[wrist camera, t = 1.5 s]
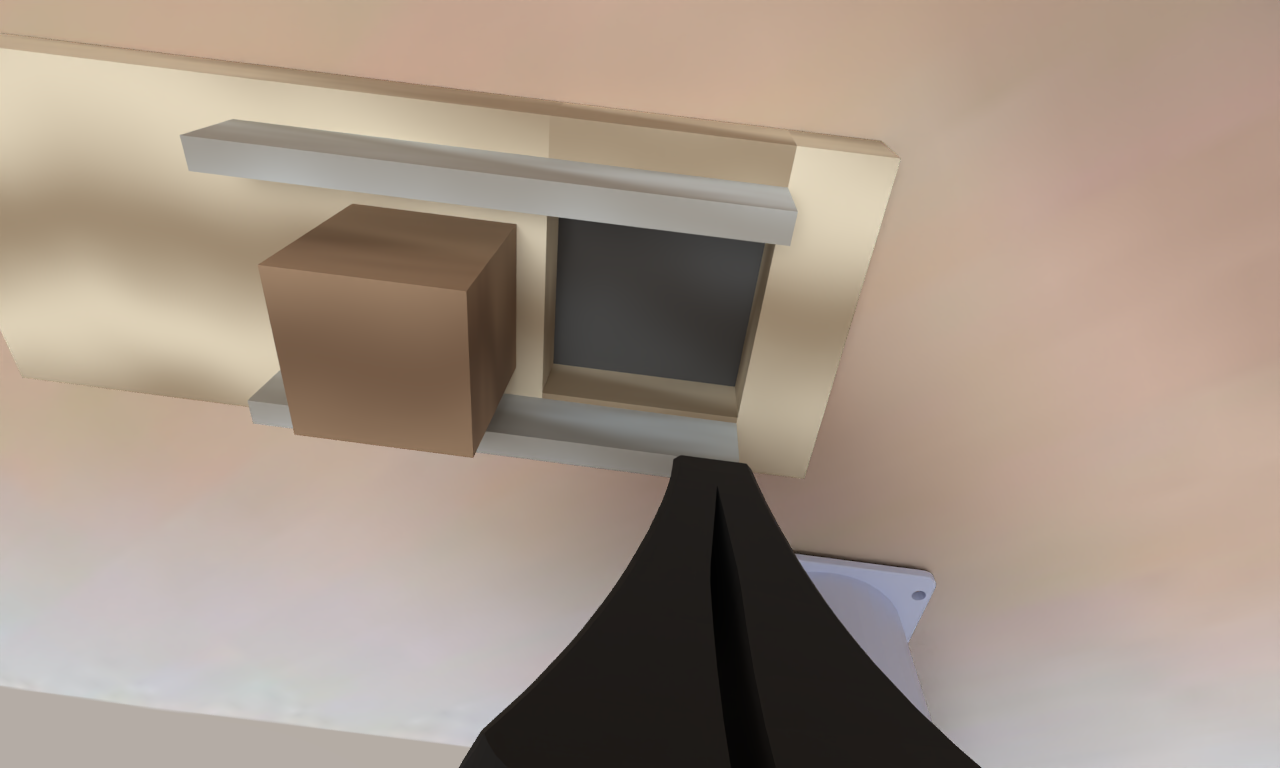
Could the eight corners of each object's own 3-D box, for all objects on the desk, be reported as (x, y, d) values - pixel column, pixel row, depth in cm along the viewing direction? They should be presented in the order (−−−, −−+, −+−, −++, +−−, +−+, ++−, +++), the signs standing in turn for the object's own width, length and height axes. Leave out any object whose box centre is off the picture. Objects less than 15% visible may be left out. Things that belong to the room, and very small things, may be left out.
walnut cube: (516, 367, 20) (473, 457, 16) (370, 348, 20) (294, 434, 16) (516, 224, 17) (465, 291, 14) (352, 203, 18) (257, 264, 14)
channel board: (796, 441, 23) (813, 522, 19) (72, 348, 23) (-36, 412, 20) (881, 141, 18) (924, 180, 14) (-59, 25, 18) (-237, 37, 14)
